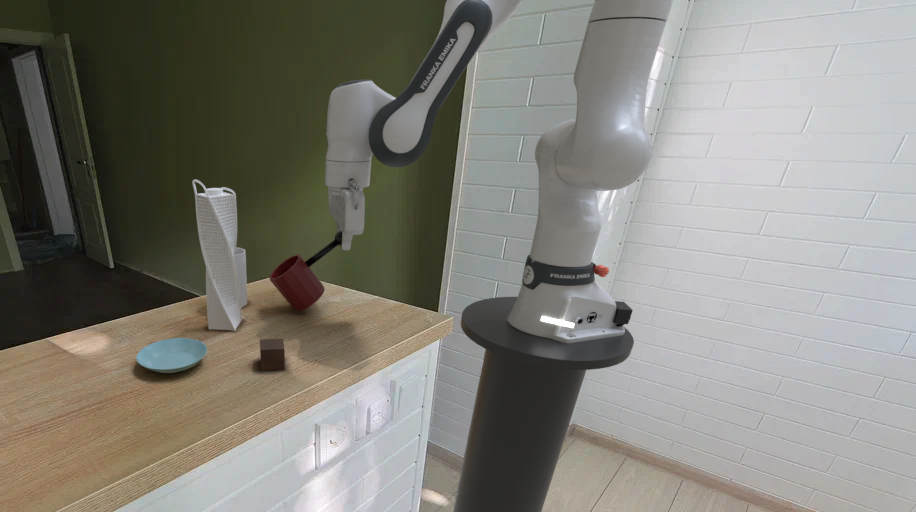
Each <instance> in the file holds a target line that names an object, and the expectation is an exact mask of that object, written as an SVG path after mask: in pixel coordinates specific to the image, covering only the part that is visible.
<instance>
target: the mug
mask: <svg viewBox="0 0 916 512" xmlns="http://www.w3.org/2000/svg"><path fill="white" fill-rule="evenodd" d="M246 255H247V254H246V249H244V248H242V247H237V246H236V252H235V259H234V261H235V265H236V270H237V275H238V281H239V289H240V298H241V308H243V307H246V306H247V305H248V282H247V281H248V280H247V256H246Z"/></svg>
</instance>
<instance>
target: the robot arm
mask: <svg viewBox="0 0 916 512" xmlns="http://www.w3.org/2000/svg"><path fill="white" fill-rule="evenodd" d="M523 1H524V0H446V1H445V4H444V10H443V18H442V21H441V22H442V23H441V26H440V29H439V32H438V34H437V37H436V38H435V40H434V42H433V45H432V46H431V48H430V49H429V51H428V52H427V54H426V56H425V57H424V59H423V61H422V62H421V64H420V66H419V67H418V69H417V70H416V72H415V74H414V75H413V77H412V78H411V79H410V81H409V83H408V85H407V86H406V87H405V89H404V90H403V91H402V92H401V93H400V94H399V95H398V96H397V97H395V96H394V95H392V94H390V93H388V92H386V91H385V90H383V89H382V88H380V87H379V86H378V85H376V84H375V82H374V81H373V80H372V79H369V78H362V79H353V80H349V81H345V82H343V83H339V84H338V85H336V87H334V88H333V90H332V91H331V92H330V95H329V99H328V103H327V104H328V105H327V111H326V112H327V113H326V114H327V115H326V125H325V126H326V128H325V129H326V131H325V136H326V140H327V150H326V154H325V159H324V161H325V162H324V186H326V187H327V196H328V210H329V214H330V216H331V217H332V218H333V220H334V221H335V223H336V234H337V233H338V232H339V231H342V240H341V246H340V248H341V249H342V250H343V251H350V250H351V248H352V240H353V237H354V236H356V235H357V236H358V235H359V236H360V235H362V234H363V233H364V230H365V215H366V213H365V212H366V210H365V209H366V197H365V193H364V191H363V190H364V188H368V187H369V186H370V184H371V174H372V173H371V171H372V160H373V159H372V158H373V156H374V157H375V158H376V160H377V161H378V162H380V163H381V164H383V165H385V166H387V167H390V168H403V167H404V168H405V167H408V166H409V165H412V164H414V163H415V162H417V161H418V160H419V159H420V158H421V157H422V156H423V155H424V154H425V152H426V150H427V148H428V147H429V143H430V141H431V137H432V132H433V128H434V123H435V119H436V116H437V114H438V112H439V110H440V108H441V107H442V105H443V104H444V103H445V101H446V99H447V98H448V97H449V95H450V93H451V91H452V90H453V89H454V87H455V85H456V83H457V82H458V80H459V79H460V77H461V76H462V75H463V73H464V71H465V70H466V69H467V66H468V65H469V64H470V63H471V61H472V60H473V59H474V57H476V55H477V54H478V53H479V52H480V51H481V50H482V49H483V48H484V47H485V46H486V45H487V44H489V42H490V41H491V40H492V39H493V38H494V37H495V36H497V34H498V33H499V32H500V31H501V30H502V28H503V27H504V26H505V25H506V24H507V23H508V21H509V20H510V19H511V18H512V17H513V15H514V14H515V12H516V11H517V10H518V8H519V7H520V6H521V4H522V3H523ZM673 2H674V0H594V2H593V5H592V8H591V11H590V15H589V18H588V21H587V26H586V28H585V33H584V35H583V40H582V44H581V47H580V51H579V54H578V58H577V62H576V65H575V69H574V73H573V85H574V86H575V89H576V114H575V115H576V116H575V118H573V119H567V120H565V121H562V122H559V123H557V124H555V125H552V126H551V127H550V128H548V129H547V130H546V131H544V133H543V134H541V136H540V137H539V139H538V141H537V143H536V146H535V149H534V159H535V163H536V166H537V168H538V208H537V209H538V211H537V219H536V224H535V230H534V234H533V239H532V244H531V247H530V253H529V254H528V255H527V256H526V260H525V264H524V269H523V272H522V279H521V285H520V286H521V287H520V289H519V292H518V295H517V296H516V297H517V300H516V302H515V304H514V306H513V308H512V310H511V312H510V314H509V315H508V317H507V321H508V322H509V324H510V325H512V326H513V327H515V328H516V329H518V330H521V331H523V332H526V333H529V334H532V335H536V336H540V337H545V338H550V339H553V340H556V341H559V342H562V343H568V344H569V343H576V342H583V341H589V340H596V339H602V338H608V337H615V336H621V335H624V333H625V329H624V327H625V326H624V325H629V322H630V320H631V317H632V313H633V309H632V307H630V306H629V304H627V303H626V302H625V301H621V300H620V301H618V300H615V299H614V298H613V297H612V296H611V295H610V294H609V293H608V292H607V291H606V290H605V289H604V288H603V287H602V286H601V285H600V284H599V283H598V282H597V281H596V277H595V276H599V277H601V278H605V277H607V276H608V275H609V273H610V268H609V267H607V266H604V265H603V264H597V265H596V263H594V262H593V257H594V253H595V251H596V247H597V243H598V240H599V236H600V233H601V229H602V225H603V220H602V215H601V212H600V210H599V203H598V202H599V201H598V192H609V191H617V190H621V189H624V188H626V187H628V186H630V185H632V184H633V183H635V182H636V181H637V180H638V179H639V178H640V177H641V176H643V174H644V172H645V171H646V170H647V168H648V166H649V164H650V162H651V159H652V152H653V148H652V147H653V146H652V145H653V144H652V141H651V138H650V136H649V135H648V132H647V130H646V101H647V100H646V99H647V91H648V84H649V80H650V75H651V72H652V68H653V65H654V62H655V58H656V55H657V53H658V49H659V46H660V43H661V40H662V36H663V33H664V30H665V27H666V25H667V21H668V18H669V16H670V13H671V9H672V5H673ZM623 326H624V327H623Z"/></svg>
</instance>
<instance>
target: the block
mask: <svg viewBox="0 0 916 512" xmlns="http://www.w3.org/2000/svg"><path fill="white" fill-rule="evenodd" d="M259 351H260V352H259V353H260V354H259V355H260V370H261V372H263V371H267V372H268V371H284V370H286V362H285V361H286V358H285V357H286V355H285V353H286V351H285V343H284V338H267V339H259Z"/></svg>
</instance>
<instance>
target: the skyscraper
mask: <svg viewBox="0 0 916 512" xmlns="http://www.w3.org/2000/svg"><path fill="white" fill-rule="evenodd" d="M191 184H192V188H193V192H194V202H195V215H196V224H197V225H196V227H197V232H198V239H199V240H198V241H199V244H200V250H201V255H202V257H203V258H202V259H203V260H204V261H203V262H204V265H205V292H206V293H205V294H206V295H205V296H206V297H205V299H206V313H207V326H208V327H207V328H208V330H217V331H218V330H220V331H233V332H236V330H237V329H238V327H239V325H240V323H241V322H243V313H242V307H241V298H240V289H239V281H238V275H237V270H236V265H235V261H234V259H235V252H236V247H237V242H238V207H237V194H236V192H235V191H234V190H233V189H231V188H229V187H227V186H222V187H210V188H207V187H206V185H204V183H203V182H202V181H201V180H199V179H196V178H195V179H193V180H192V181H191ZM196 184H199V185H200V186H201V187H202V188H203V190H204V192H201V193H200V192H199V193H198V191H197V186H196ZM226 191H227V192H226Z"/></svg>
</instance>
